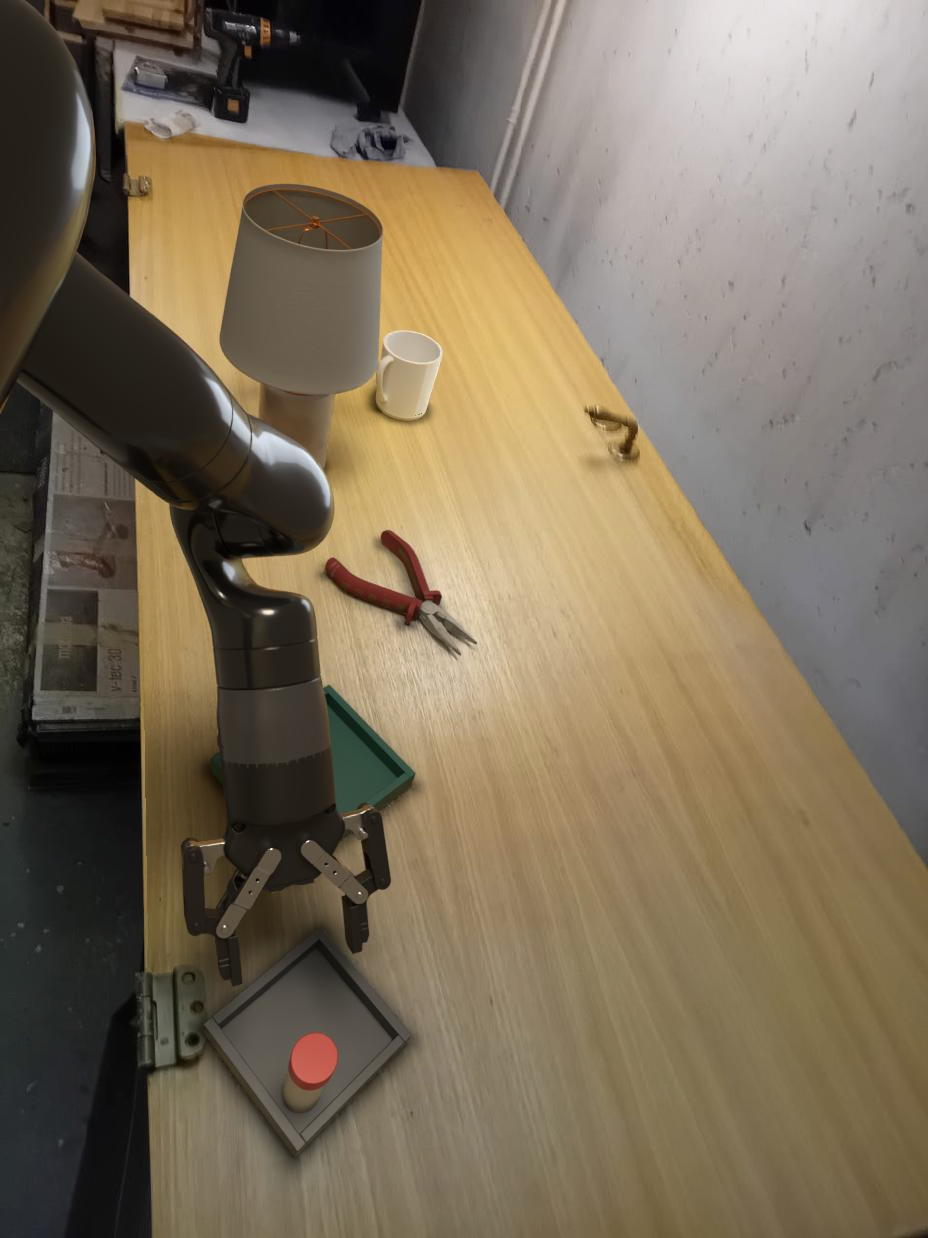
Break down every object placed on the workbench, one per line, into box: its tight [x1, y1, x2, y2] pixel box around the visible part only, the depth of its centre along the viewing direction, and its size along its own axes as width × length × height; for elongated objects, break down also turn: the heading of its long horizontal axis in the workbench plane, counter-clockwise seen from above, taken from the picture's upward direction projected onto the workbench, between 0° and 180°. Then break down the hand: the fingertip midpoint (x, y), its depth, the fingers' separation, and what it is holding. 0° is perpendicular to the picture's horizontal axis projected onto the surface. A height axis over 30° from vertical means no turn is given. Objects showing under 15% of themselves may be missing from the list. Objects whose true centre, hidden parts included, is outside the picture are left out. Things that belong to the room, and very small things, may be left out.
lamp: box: [218, 183, 384, 470], centre depth 100 cm, size 19×19×34 cm
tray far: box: [209, 684, 417, 840], centre depth 81 cm, size 15×14×3 cm
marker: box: [282, 1033, 338, 1113], centre depth 60 cm, size 3×3×10 cm
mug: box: [375, 329, 444, 422], centre depth 123 cm, size 11×9×10 cm
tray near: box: [202, 926, 413, 1159], centre depth 65 cm, size 12×12×3 cm
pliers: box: [325, 529, 478, 657], centre depth 100 cm, size 12×20×3 cm, turn 46°
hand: (297, 964), depth 59 cm, fingers open, 8 cm apart
